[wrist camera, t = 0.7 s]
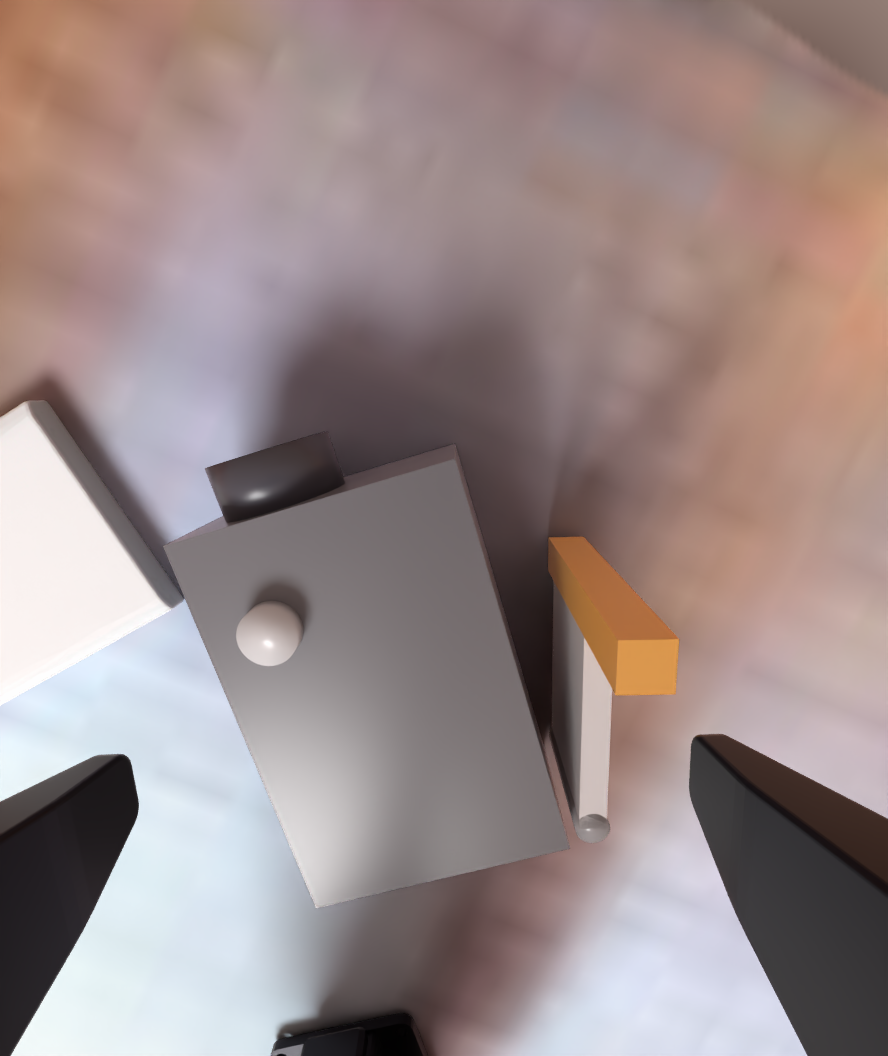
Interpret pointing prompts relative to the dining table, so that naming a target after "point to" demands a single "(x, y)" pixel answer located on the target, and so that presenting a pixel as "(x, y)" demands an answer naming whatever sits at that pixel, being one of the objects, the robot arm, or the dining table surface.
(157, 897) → the dining table surface
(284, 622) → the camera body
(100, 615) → the external hard drive
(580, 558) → the side door
